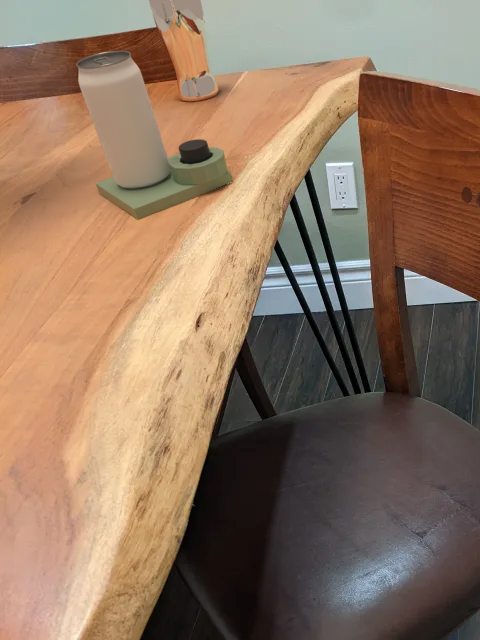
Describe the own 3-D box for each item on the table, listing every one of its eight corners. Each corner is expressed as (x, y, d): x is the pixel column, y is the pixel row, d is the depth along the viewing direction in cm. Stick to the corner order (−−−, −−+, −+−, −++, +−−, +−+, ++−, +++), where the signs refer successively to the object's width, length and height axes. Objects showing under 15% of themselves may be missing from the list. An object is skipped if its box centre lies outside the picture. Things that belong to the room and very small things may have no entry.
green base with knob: (140, 221, 74) (129, 193, 72) (99, 193, 81) (88, 167, 79) (239, 182, 79) (233, 154, 77) (193, 159, 86) (185, 133, 83)
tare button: (191, 169, 76) (186, 152, 75) (178, 162, 78) (173, 146, 77) (216, 159, 77) (212, 143, 76) (203, 153, 79) (198, 137, 78)
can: (125, 195, 76) (80, 72, 68) (109, 179, 80) (64, 61, 72) (180, 178, 78) (143, 56, 70) (161, 162, 82) (124, 45, 74)
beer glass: (208, 102, 101) (176, -24, 90) (168, 103, 103) (131, -21, 92) (230, 87, 105) (201, -36, 95) (191, 87, 108) (158, -33, 97)
